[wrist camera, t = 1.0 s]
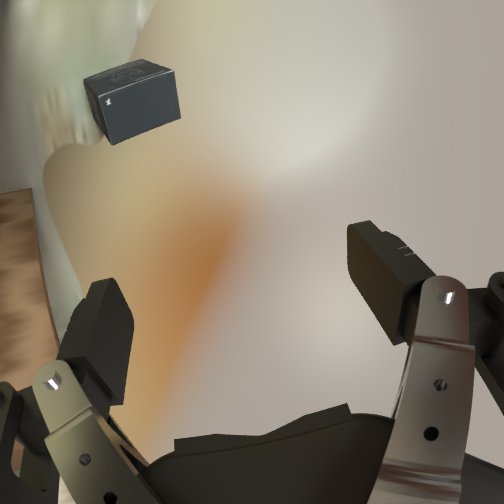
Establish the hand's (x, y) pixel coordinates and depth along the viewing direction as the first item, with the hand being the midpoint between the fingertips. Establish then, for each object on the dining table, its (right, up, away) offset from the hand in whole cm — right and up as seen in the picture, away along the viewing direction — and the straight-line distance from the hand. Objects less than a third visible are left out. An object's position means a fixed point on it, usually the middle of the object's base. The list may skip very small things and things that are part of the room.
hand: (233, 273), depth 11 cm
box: (-16, +21, +23) cm, 35 cm away
